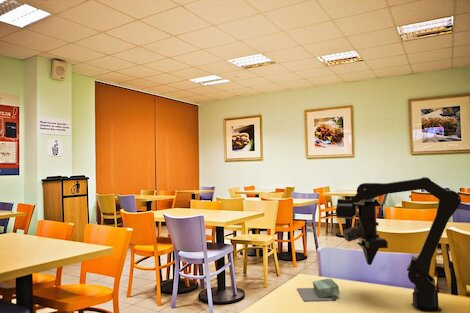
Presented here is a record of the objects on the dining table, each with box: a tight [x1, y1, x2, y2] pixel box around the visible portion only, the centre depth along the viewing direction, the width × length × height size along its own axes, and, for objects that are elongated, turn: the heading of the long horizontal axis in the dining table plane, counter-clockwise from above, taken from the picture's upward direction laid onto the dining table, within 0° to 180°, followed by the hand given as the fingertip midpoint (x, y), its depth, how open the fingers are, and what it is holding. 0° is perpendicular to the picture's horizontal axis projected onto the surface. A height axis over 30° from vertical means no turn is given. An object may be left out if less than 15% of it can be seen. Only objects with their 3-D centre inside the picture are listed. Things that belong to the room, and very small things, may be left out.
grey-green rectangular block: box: [312, 278, 341, 298], centre depth 133 cm, size 3×10×7 cm
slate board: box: [296, 287, 337, 302], centre depth 133 cm, size 11×14×1 cm
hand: (369, 264), depth 127 cm, fingers closed
